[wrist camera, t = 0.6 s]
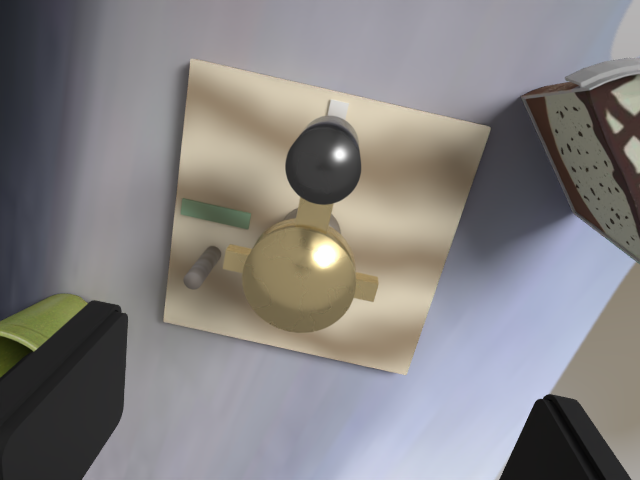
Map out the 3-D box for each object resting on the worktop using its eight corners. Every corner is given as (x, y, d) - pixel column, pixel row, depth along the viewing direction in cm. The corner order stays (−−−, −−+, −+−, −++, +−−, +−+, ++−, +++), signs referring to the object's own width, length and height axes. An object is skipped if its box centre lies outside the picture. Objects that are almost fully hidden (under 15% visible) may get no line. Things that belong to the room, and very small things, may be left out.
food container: (668, 188, 32) (802, 237, 22) (580, 230, 33) (671, 293, 24) (605, 21, 28) (731, -5, 19) (511, 75, 30) (584, 77, 20)
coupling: (252, 97, 24) (223, 105, 18) (418, 135, 24) (438, 154, 19) (221, 298, 28) (190, 354, 23) (362, 329, 29) (365, 393, 23)
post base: (196, 59, 31) (154, 55, 24) (486, 125, 31) (522, 140, 24) (168, 314, 38) (130, 365, 31) (404, 366, 38) (416, 427, 31)
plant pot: (0, 280, 38) (-96, 338, 29) (107, 266, 36) (37, 323, 28) (42, 375, 41) (-35, 451, 33) (141, 364, 40) (87, 440, 31)
